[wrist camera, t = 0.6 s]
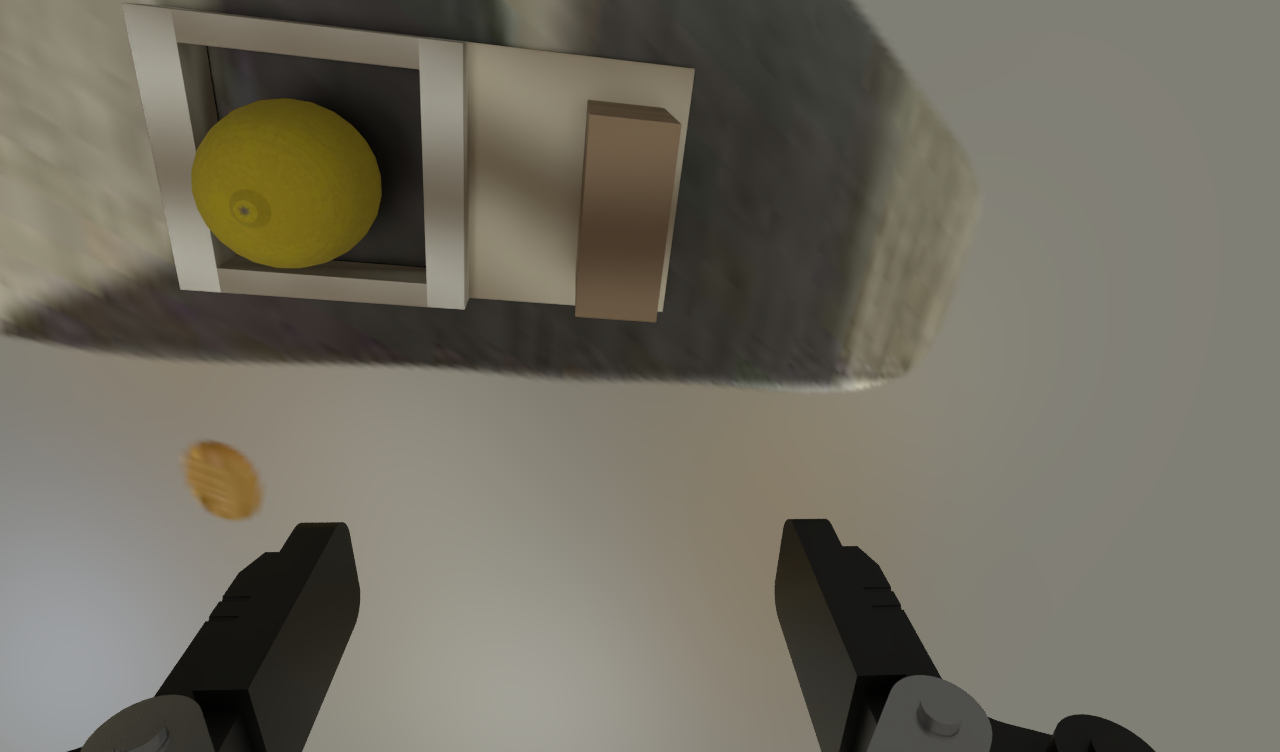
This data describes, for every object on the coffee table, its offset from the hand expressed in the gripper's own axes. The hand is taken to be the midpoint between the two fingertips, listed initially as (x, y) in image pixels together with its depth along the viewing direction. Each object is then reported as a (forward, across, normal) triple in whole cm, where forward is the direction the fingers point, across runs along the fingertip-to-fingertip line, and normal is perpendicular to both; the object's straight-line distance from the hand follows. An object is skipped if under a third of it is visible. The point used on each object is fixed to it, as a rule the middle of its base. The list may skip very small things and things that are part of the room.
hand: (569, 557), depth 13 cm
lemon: (+19, +10, -4) cm, 22 cm away
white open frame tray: (+19, +5, -4) cm, 20 cm away
